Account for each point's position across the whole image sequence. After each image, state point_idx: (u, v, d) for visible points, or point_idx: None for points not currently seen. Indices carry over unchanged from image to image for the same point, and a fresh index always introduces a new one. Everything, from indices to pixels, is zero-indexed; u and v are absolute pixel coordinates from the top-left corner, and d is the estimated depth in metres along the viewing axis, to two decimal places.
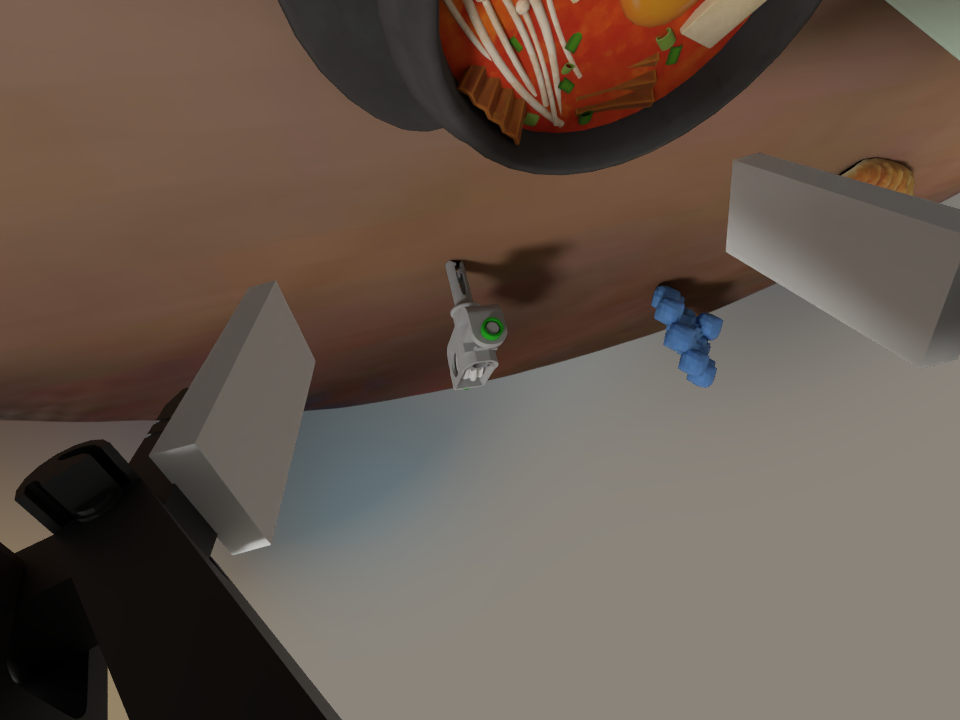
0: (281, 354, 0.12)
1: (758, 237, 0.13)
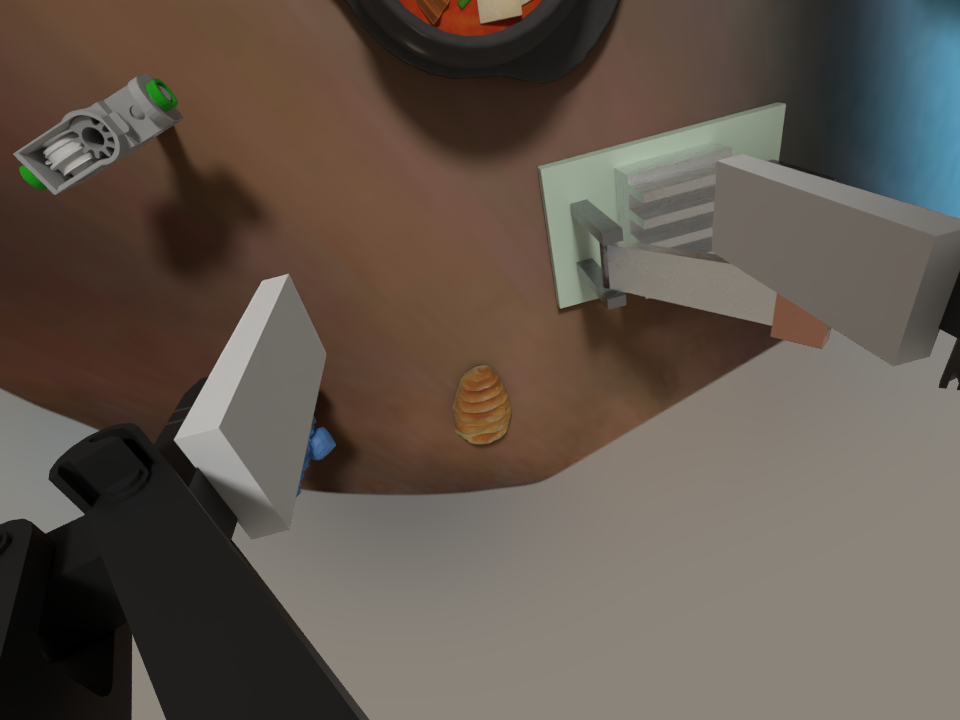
0: (295, 346, 0.12)
1: (741, 237, 0.13)
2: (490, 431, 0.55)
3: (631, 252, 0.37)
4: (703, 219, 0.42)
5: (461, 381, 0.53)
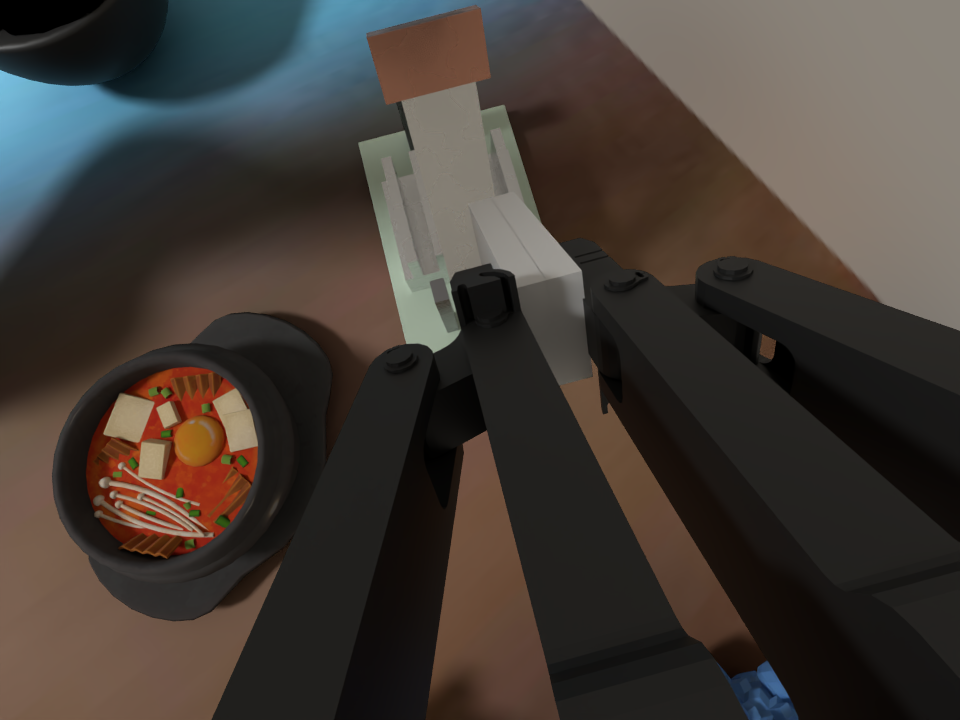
0: None
1: None
2: None
3: (451, 266, 0.33)
4: None
5: None
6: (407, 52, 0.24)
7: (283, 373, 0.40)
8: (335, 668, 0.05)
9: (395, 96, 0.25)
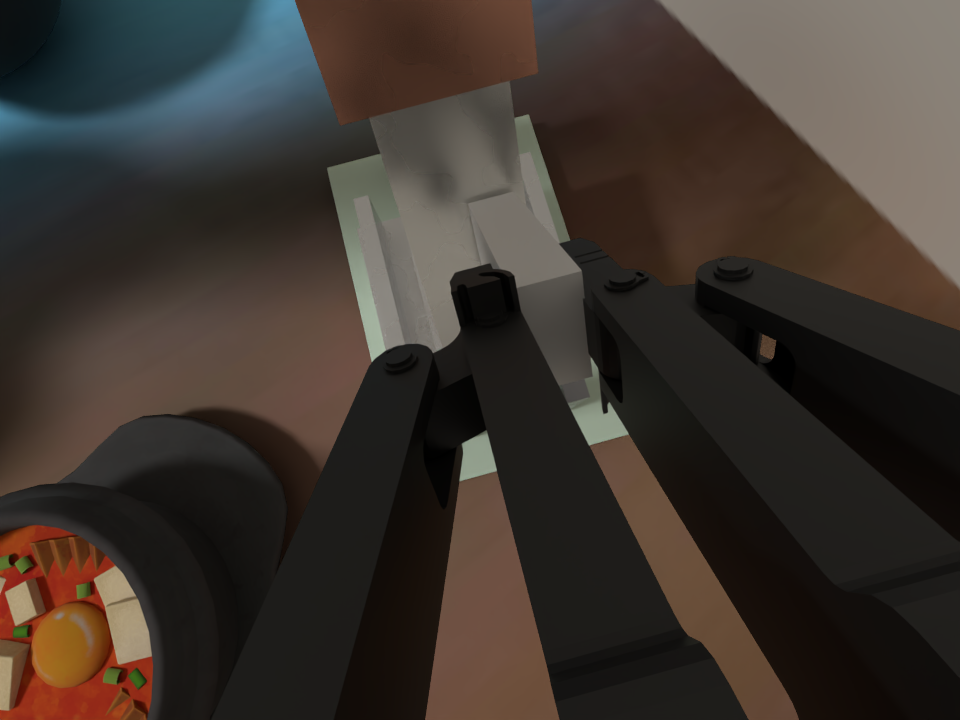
0: None
1: None
2: None
3: None
4: None
5: None
6: (377, 21, 0.12)
7: (216, 508, 0.28)
8: (335, 668, 0.05)
9: (356, 109, 0.13)
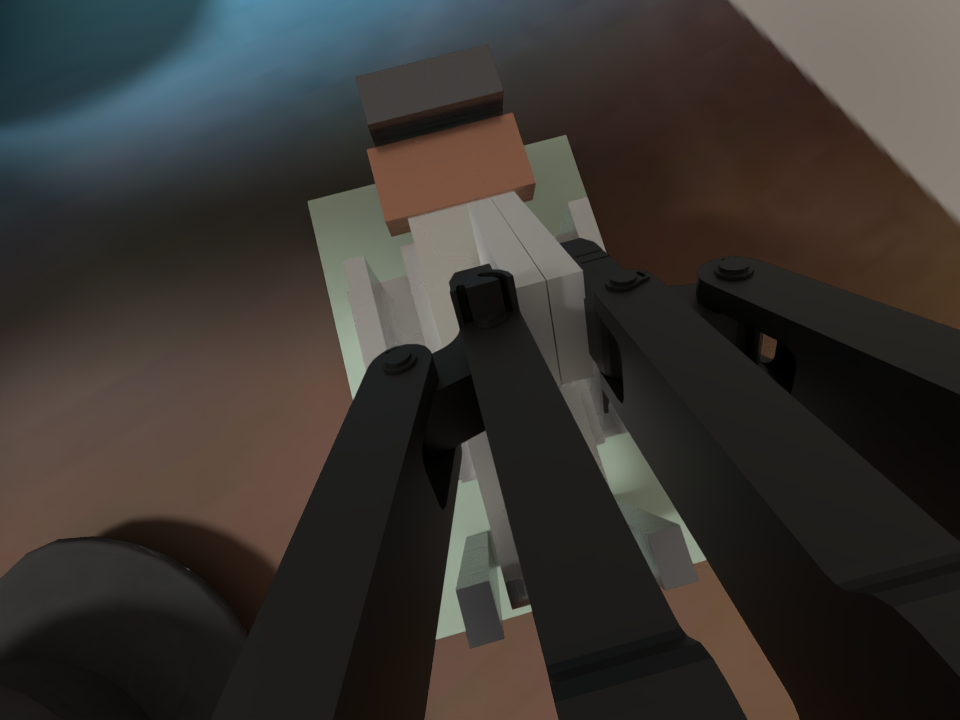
0: None
1: None
2: None
3: (495, 508, 0.15)
4: None
5: None
6: (418, 160, 0.18)
7: (156, 670, 0.20)
8: (333, 669, 0.05)
9: (398, 211, 0.17)
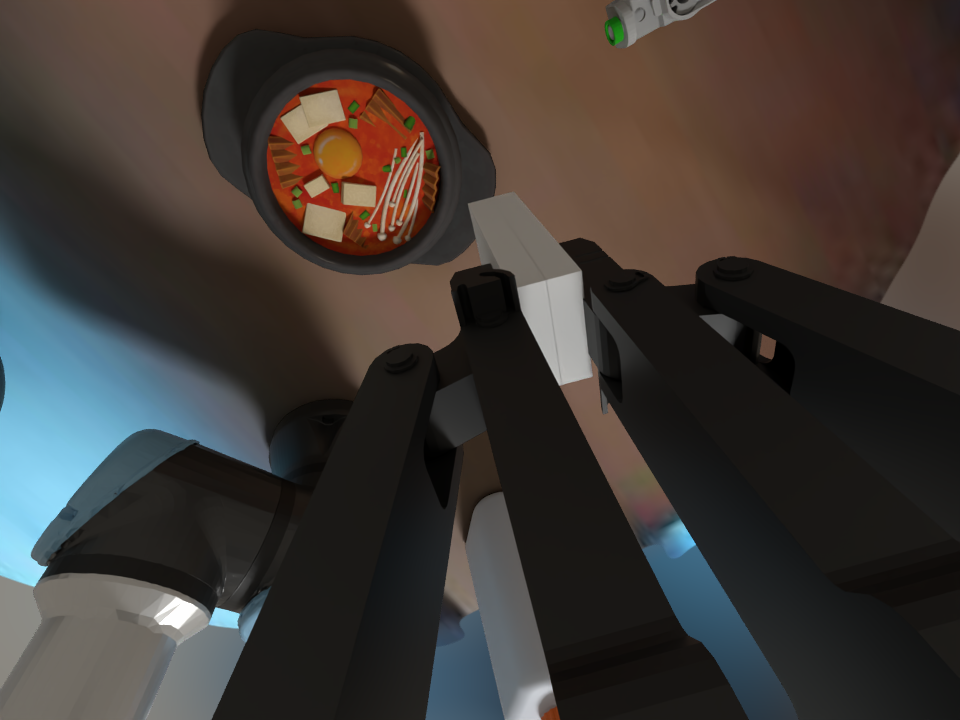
0: None
1: None
2: None
3: None
4: None
5: None
6: None
7: None
8: (335, 668, 0.05)
9: None
